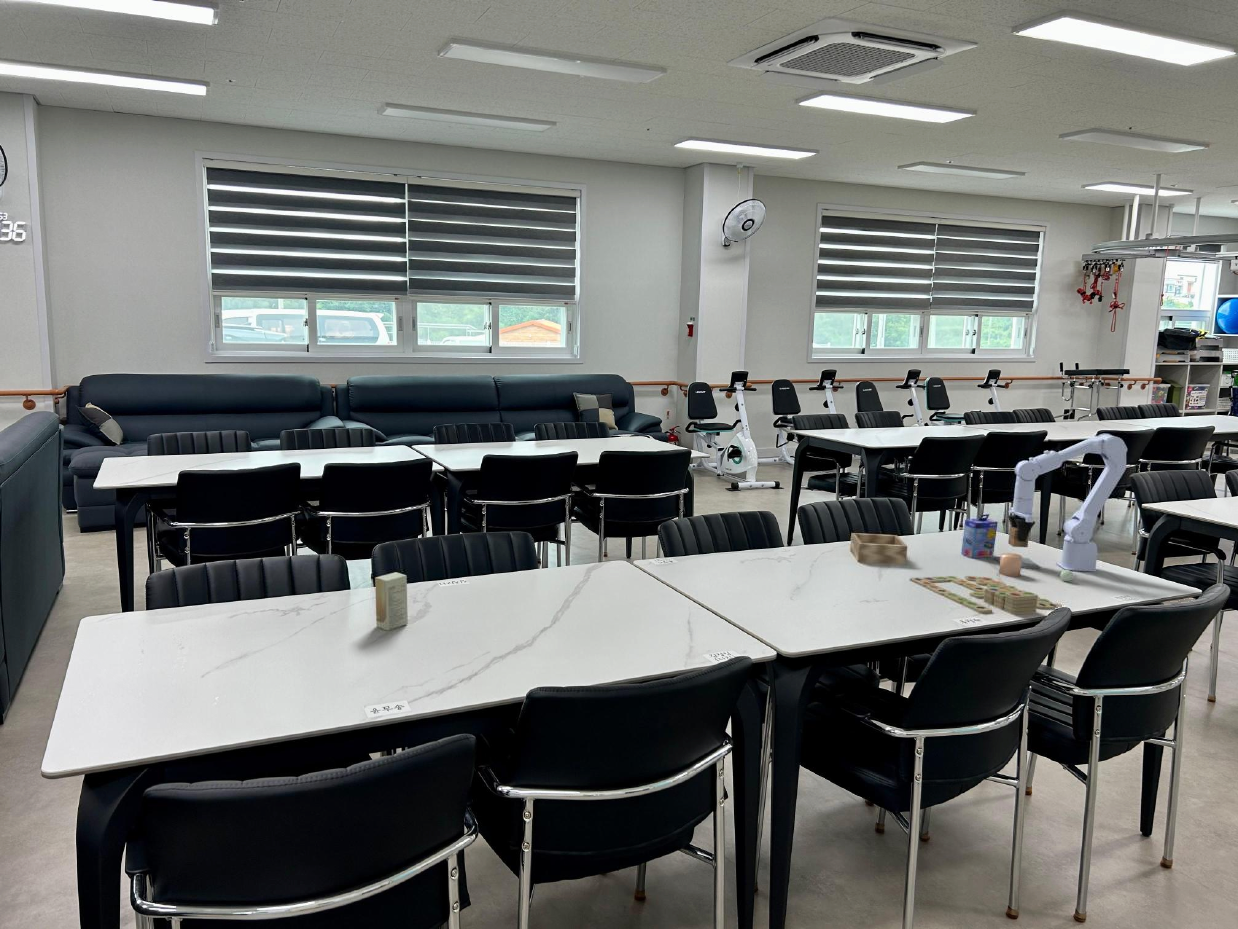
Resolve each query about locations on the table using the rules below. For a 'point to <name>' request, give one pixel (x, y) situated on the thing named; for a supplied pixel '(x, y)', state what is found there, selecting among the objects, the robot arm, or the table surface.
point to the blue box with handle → (979, 537)
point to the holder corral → (878, 548)
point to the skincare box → (391, 601)
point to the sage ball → (1066, 575)
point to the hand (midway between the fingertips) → (1019, 539)
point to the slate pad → (1024, 563)
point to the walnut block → (1016, 538)
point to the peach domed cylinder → (1010, 564)
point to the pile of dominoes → (989, 595)
